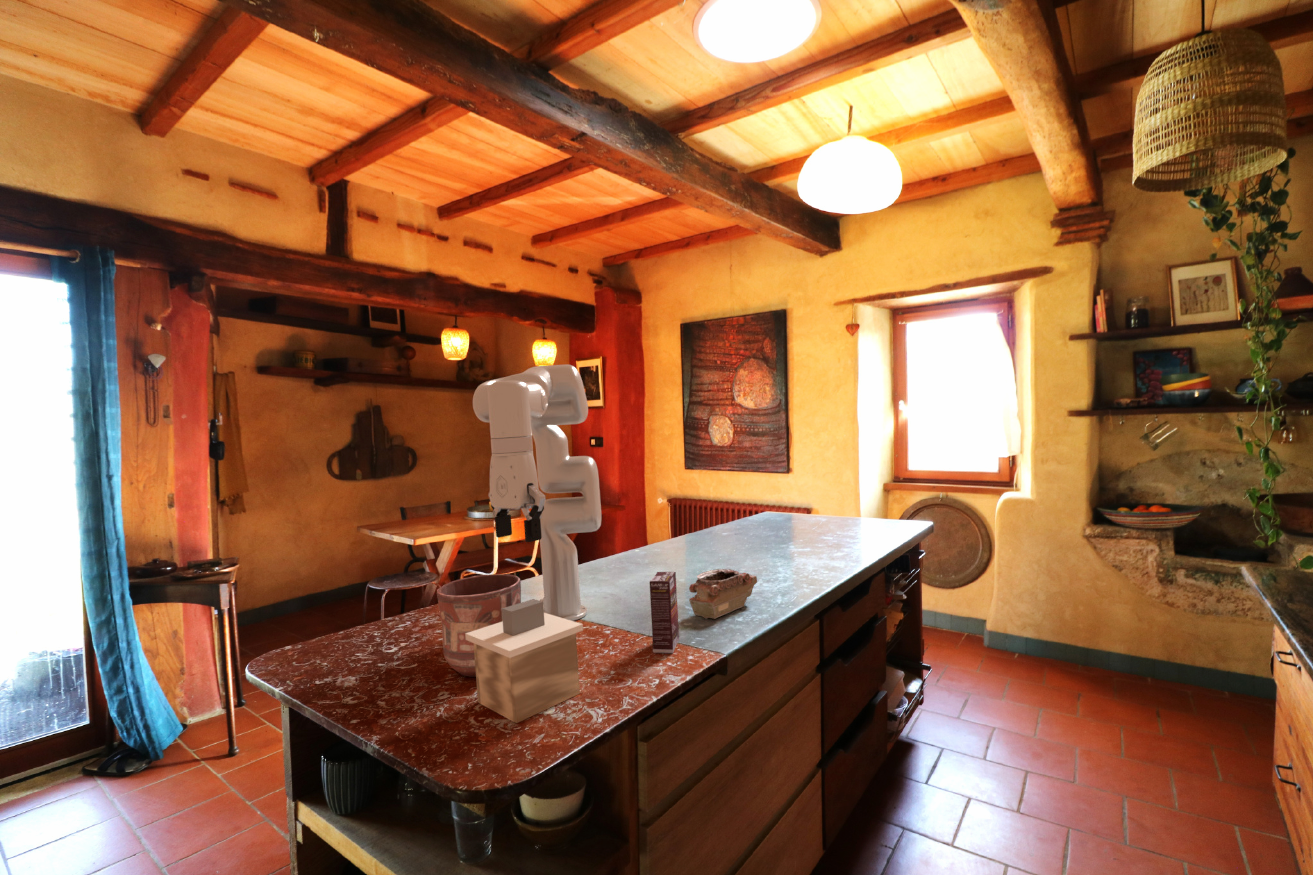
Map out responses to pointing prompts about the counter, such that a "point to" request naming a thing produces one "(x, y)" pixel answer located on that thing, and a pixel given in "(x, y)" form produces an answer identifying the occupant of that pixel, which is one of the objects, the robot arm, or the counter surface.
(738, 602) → the decorative box
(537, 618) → the lid
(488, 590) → the pottery
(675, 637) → the supplement box
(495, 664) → the box
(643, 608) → the counter surface
